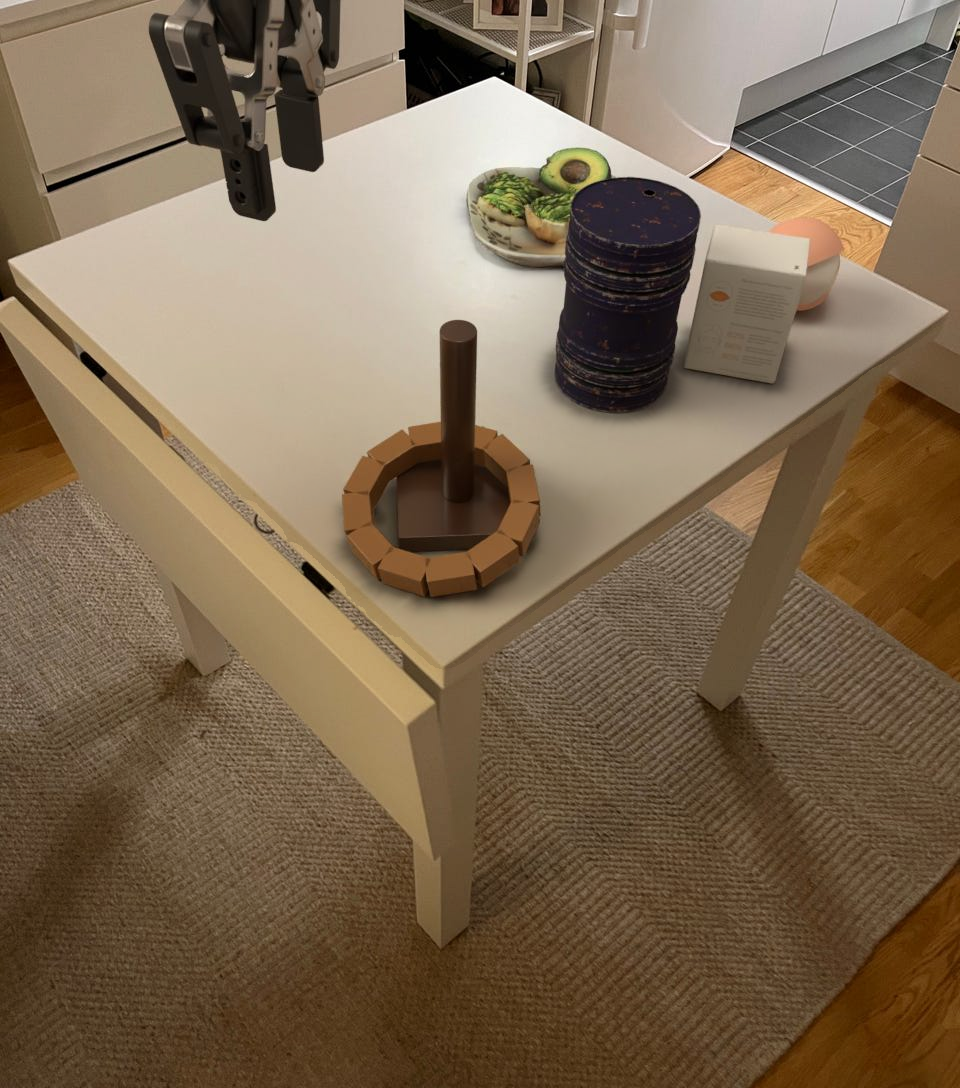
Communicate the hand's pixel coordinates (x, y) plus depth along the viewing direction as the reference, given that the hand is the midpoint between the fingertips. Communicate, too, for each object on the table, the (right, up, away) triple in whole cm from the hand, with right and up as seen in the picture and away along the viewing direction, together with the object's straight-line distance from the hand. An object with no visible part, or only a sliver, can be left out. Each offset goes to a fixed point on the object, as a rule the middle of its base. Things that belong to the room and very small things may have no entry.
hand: (279, 189), depth 53 cm
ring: (+8, -15, +20) cm, 26 cm away
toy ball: (+39, +7, +40) cm, 56 cm away
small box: (+33, +1, +34) cm, 47 cm away
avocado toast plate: (+18, +18, +48) cm, 54 cm away
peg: (+9, -14, +22) cm, 28 cm away
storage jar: (+22, -1, +33) cm, 39 cm away
